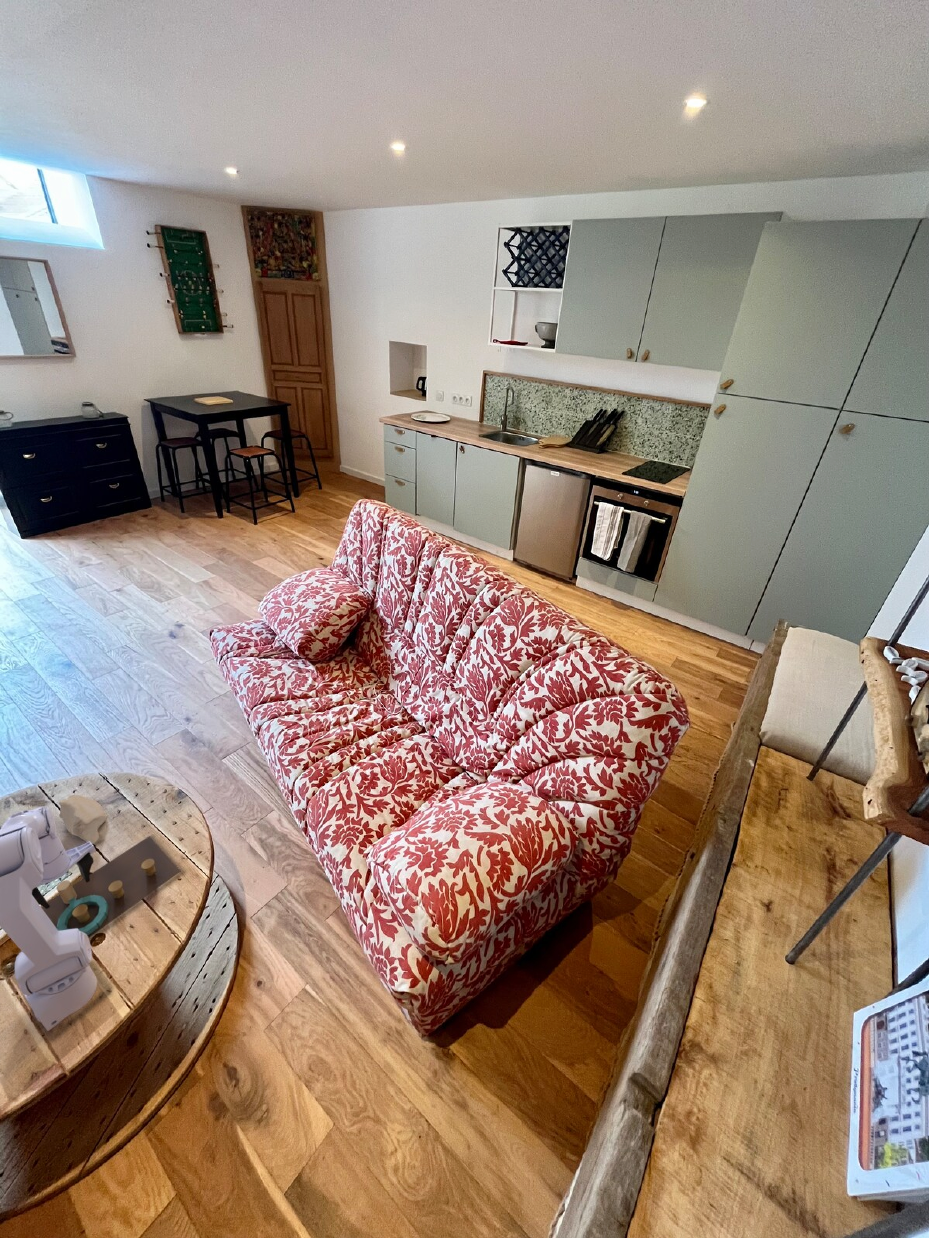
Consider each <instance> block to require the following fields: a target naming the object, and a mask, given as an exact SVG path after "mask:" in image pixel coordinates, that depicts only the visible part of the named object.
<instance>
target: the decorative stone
mask: <svg viewBox="0 0 929 1238" xmlns="http://www.w3.org/2000/svg"><path fill="white" fill-rule="evenodd" d="M58 805H59V806H60V807H59V815H58V816H59V818H60V819H62V821H63V823H64V824H65V829H66V830H67V831H68V832H69V833H70V834H71V835H73V836H75V837H78V838H80V839H81V840H83V841H85V843H87V842H89V841H90V842H91V843H92V845H94V844H95V843H96V842H97V841H98V840H99V839H100V834H99V829H100V827H101V826H102V825H103V824H104V823H106V822H107V820H108V815H107V812H106V811H105V810H104V808H103V806H102V804H100V802H98V801H97V800H95V799H93V798H89V797H87V796H83V795H81V794H72V795H70V796H69V797H68V798H64V799H61V800H60V801H59V802H58Z"/></svg>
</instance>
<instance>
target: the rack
mask: <svg viewBox="0 0 929 1238" xmlns="http://www.w3.org/2000/svg"><path fill="white" fill-rule="evenodd" d="M179 873H181V869H180V868H179V867H178V866H177V865H176V864H175V862H173V860H172V859H171V858H170V857H169V856H168V855H167V853H166V852H164V850H163V849H162V848H161V847H160V846H159V845H158V844H157V842H156V841H155V840H154V839H153V838H152V837H151V836H147V837H146V838H144V839H143V840H141V841H140V842H137V844H135V845H134V846H132V847H130V848H129V849H128V850H127V849H126V851H124V852H123V853H121V854H120V855H118V856H117V857H115V858H114V859H112V860H110V861H109V862H107V863H105V864H103V866H101V867H99V868H98V869H96V870H95V871H93V872H92V873H90V881H89V882H87V883H86V881H85V880H84V879H83V878H82V879H81V880H79V881H78V882H77V883H75V884H73V885H72V887H73V889H74V891H75V893H76V894H77V898H76V900H78V899H81V898H83V897H87V896H90V895H92V896H93V895H97V896H102V897H103V898H104V899H105V901H106V902H107V904H108V906H109V909H108V915H107V916H106V919H105V920H104V922H103V923H102V924H101V926H100V927H99V926H98V927H99V928H98V929H96V930H95V931H94V932H92V933H91V934H89V935H87V936H88V939H90V938H91V937H92V936H94V935H95V934H97V933H98V932H100V931H101V930H102V929H104V927H107V925H109V924H111V923H112V922H113V921H114V920H116V919H117V918H119V917H120V916H122V915H123V914H124V913H125V912H127V911H128V910H129V909H131V908H133V906H135V905H136V904H138V903H139V902H140V901H142V900H143V899H145V898H146V897H147V896H149V895H150V894H152V893H153V892H154V891H156V890H157V889H158V888H160V887H161V886H162V885H164V884H165V883H166V882H168V881H169V880H171V879H173V877H175V876H176V875H177V874H179ZM58 895H59V896H58ZM58 895H56V896H54V897H53V898H54V899H53V898H52V899H50V900H49V901H47V903H48V904H49V906H50V907H49V908H48V909H46V908H45V907H42V906H41V908H42V909H43V911H44V912H45V913H46V915H47V916H48V918H49V919H50V920H51V922H52V923H53V924H54V926H55V927H56V929H57V924H58V919H59V918H60V916H61V914H62V913H63V912H64V911H65V909H66V908H67V907H68V906H69V905H70V904H65V903H64V901H63V900H62V898H61V896H60V894H59V893H58ZM68 908H69V907H68ZM98 913H99V906H97V905H88V906H87V905H85V904H82V905H79V906H77V907H76V908H75V909H74V910H73V913H72V914H73V915H72V916H71V917H70V919H69V920H68V924H67V928H68V929H80V928H83V927H85V926H87V925H88V924H90V923H91V922H92V921H93V920H94V919H95V918H96V916H97V915H98Z"/></svg>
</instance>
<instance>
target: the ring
mask: <svg viewBox="0 0 929 1238" xmlns="http://www.w3.org/2000/svg"><path fill="white" fill-rule="evenodd" d="M72 886H73V885H72V882H71V881H70V880H62V881H61V882H59V883H58V884H57V886H56V890H57V892H58V895H59V894H60V896H61V898H62V900H63V901H64V903H65V904H70V905H69V906H68V907H69V908H68V907H67V908H66V909H65V911H64V912H63V913H62V914H61V916H60V918H59V919H58V924H57V930H58V931H62V930H69V929H68V928H67V924H68V920H69V919H70V917H71V916H72V915H73V914H72V913H73V910H74V909H75V908H76V907H77V906H79V905H82V904H85V905H87V906H88V905H97V906H99V913H98V915H97V916H96V918H95V919H94V920H93V921H92V922H91V923H90V924H88V925H87V926H85V927H83V928H80V929H78V930H79V931H81V932H83V933H86V934H87V935H89V934H91V933H92V932H94V931H95V930H96V929H98V928H99V927H100V926H101V924H102V923H103V922H104V920H105V919H106V916H107V915H108V909H109V906H108V904H107V902H106V901H105V899H104V898H103V897H102V896H97V895H93V896H92V895H90V896H87V897H83V898H81V899H78V900H76V898H77V894H76V893H75V891H74V889H73V887H72ZM98 926H99V927H98Z"/></svg>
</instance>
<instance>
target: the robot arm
mask: <svg viewBox="0 0 929 1238" xmlns="http://www.w3.org/2000/svg"><path fill="white" fill-rule="evenodd" d="M57 829H58V828H57V824H56V823H55V818H54V815H53V812H52V810H51V808H50V807H49V806H47V807H44V806H39V807H36V808H34V809H31V810H30V809H24V810H20V811H18V812H15V813H11V814H10V816H8V817H7V818H6V820H5V822H4V823H3V824H2V826H1V827H0V928H1V929H2V930H3V931H4V932H5V933H6V935H7V936H8V937H9V938H10V940H11V941H13V943H14V944H15V945H16V946H17V947H18V949H20V952H19V953H18V954H17V956H16V957H15V961H14V978H15V981H16V982H17V984H18V988H19V991H20V992H21V993H22V995H24V998H25V999H26V1001H27V1003H28V1005H29V1007H30V1008H31V1010H32V1012H33V1013H34V1017H35V1019H36V1020H37V1021H38V1023H41V1025H42V1026H43V1027H44V1029H45V1030H46V1031H47V1032H49V1031H51V1030H52V1029H54V1028H55V1027H56V1026H57V1025H58V1024H60V1023H61V1022H62V1021H63V1020H65V1019H66V1018H68V1017H69V1016H71V1015H72V1014H74V1013H76V1012H77V1011H79V1010H81V1009H82V1008H83V1007H85V1006H86V1005H87V1004H89V1002H90V1001H91V1000H92V998H93V996H94V995H95V993H96V991H97V988H98V979H97V976H96V975H95V973H94V971H93V970H92V968H91V965H90V964H91V962H92V960H93V951H92V946H91V942H90V938H88V936H87V934H86V933H83V932H81V931H79V930H78V929H69V930H62V931H58V930H57V929H56V927H55V926H54V924H53V923H52V922H51V920H50V919H49V917H48V916H47V914H46V912H45V911H44V909H43V908H42V906H43V907H45V908H46V909H48V908H49V907H50V906H49V904H48V903H47V902H48V901H47V899H46V898H45V897H44V895H43V894H42V893H41V891H40V890H39V888H38V887H41V886H44V885H46V884H49V883H51V882H54V881H56V880H58V879H60V878H61V877H63V876H65V875H66V874H67V873H68V872H69V871H70V870H71V869H72V868H73V867H74V866H75V865H77V867H78V870H79V872H80V875H81V877H82V880H83V879H84V880H85V881H86V883H87V882H89V881H90V874H91V869H92V867H93V864H94V857H93V856H92V854H94V853H95V852H96V848H95V846H94V844H92V843H91V842H90V841H89V842H85V843H83V844H81V845H79V846H75V847H73V848H69V849H68V850H66V849H65V847H64V844H63V843H62V840H61V839H60V837H59V834H58V833H57V831H58V830H57Z"/></svg>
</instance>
